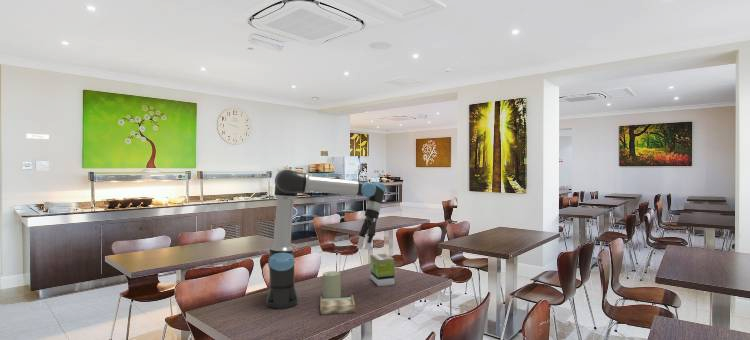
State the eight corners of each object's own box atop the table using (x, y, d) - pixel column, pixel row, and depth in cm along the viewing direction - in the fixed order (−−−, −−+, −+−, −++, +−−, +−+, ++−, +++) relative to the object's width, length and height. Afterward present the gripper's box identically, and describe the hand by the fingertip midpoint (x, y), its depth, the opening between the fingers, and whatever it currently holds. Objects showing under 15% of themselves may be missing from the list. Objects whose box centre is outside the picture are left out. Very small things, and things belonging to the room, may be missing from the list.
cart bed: (320, 314, 183) (320, 306, 183) (320, 303, 199) (320, 295, 199) (355, 312, 185) (355, 304, 185) (352, 301, 201) (352, 294, 201)
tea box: (370, 279, 240) (369, 254, 240) (386, 277, 243) (386, 252, 243) (377, 286, 226) (377, 259, 225) (395, 284, 229) (394, 258, 228)
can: (319, 297, 208) (318, 273, 208) (330, 292, 216) (329, 269, 216) (334, 300, 203) (333, 275, 203) (344, 294, 211) (344, 271, 211)
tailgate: (320, 303, 198) (320, 301, 198) (320, 300, 203) (320, 298, 203) (352, 301, 200) (352, 299, 200) (352, 298, 205) (352, 296, 205)
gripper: (387, 211, 213) (377, 251, 208) (371, 213, 236) (362, 249, 231) (374, 206, 211) (363, 247, 206) (359, 209, 234) (350, 246, 229)
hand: (362, 248), depth 218 cm, fingers open, 13 cm apart
